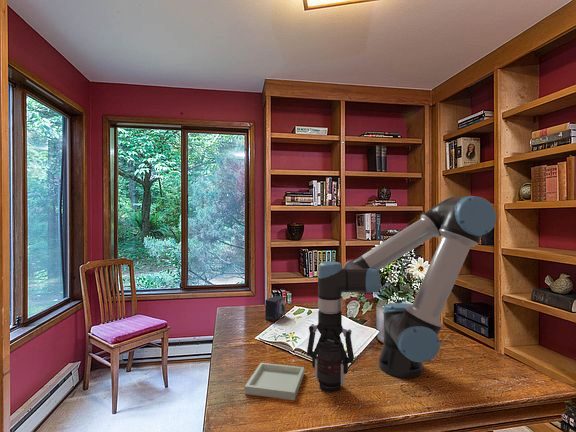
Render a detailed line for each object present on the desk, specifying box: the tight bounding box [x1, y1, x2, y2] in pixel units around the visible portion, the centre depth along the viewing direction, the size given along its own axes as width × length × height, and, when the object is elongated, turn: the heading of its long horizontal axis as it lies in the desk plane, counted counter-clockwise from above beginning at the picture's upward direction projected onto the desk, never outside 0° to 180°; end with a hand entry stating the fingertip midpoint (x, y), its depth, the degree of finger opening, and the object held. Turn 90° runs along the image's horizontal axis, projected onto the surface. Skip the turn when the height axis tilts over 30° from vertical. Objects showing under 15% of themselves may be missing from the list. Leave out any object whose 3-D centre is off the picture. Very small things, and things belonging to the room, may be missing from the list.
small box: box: [264, 295, 286, 322], centre depth 172 cm, size 11×6×10 cm, turn 149°
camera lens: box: [317, 339, 344, 393], centre depth 106 cm, size 8×8×15 cm
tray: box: [244, 362, 305, 401], centre depth 108 cm, size 16×16×2 cm
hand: (330, 379), depth 106 cm, fingers closed on camera lens, 8 cm apart
